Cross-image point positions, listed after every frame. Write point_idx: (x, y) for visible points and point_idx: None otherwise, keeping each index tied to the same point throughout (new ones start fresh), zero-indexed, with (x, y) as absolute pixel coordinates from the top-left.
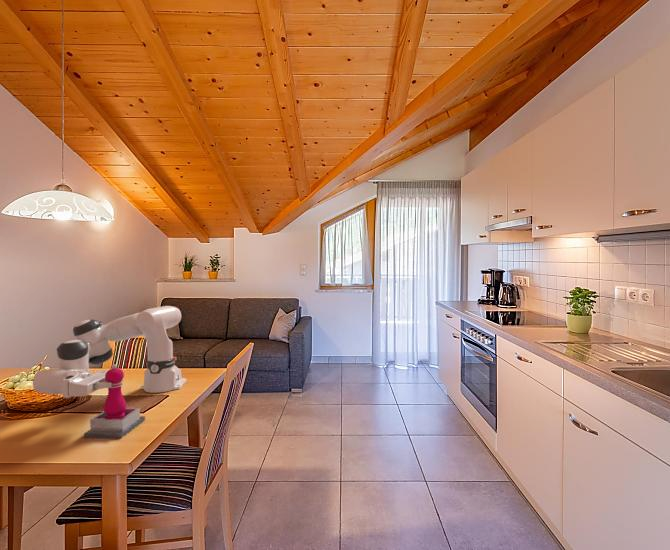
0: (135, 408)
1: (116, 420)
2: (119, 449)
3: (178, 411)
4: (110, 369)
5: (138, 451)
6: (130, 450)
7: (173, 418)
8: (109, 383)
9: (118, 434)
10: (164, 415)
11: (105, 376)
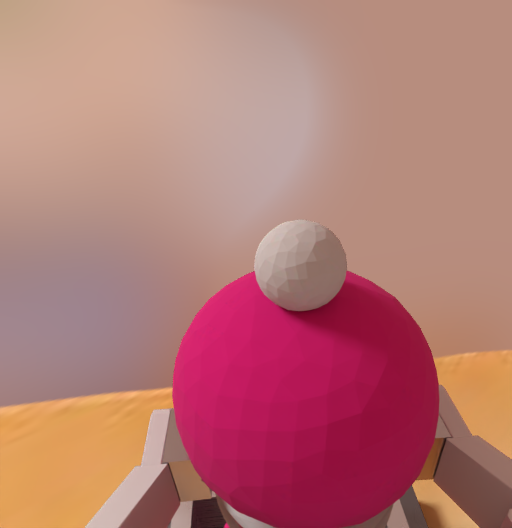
0: (181, 508)
1: (399, 505)
2: (497, 430)
3: (53, 417)
4: (333, 338)
5: (465, 359)
6: (476, 386)
7: (147, 397)
8: (444, 393)
9: (417, 502)
10: (95, 454)
11: (431, 436)
